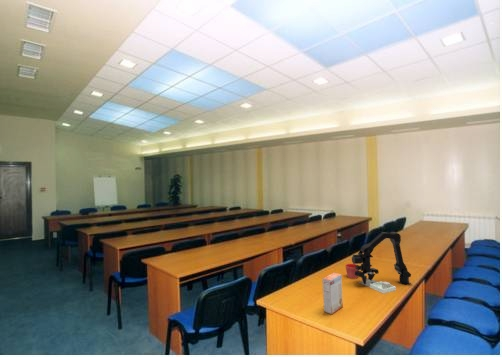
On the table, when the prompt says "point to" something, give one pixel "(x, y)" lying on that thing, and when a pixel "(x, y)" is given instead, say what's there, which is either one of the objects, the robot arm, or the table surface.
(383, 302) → the table surface
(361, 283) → the lid board
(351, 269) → the flower pot
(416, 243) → the table surface
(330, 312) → the cracker box
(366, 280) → the grey cube
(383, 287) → the light grey cube
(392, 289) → the tray
